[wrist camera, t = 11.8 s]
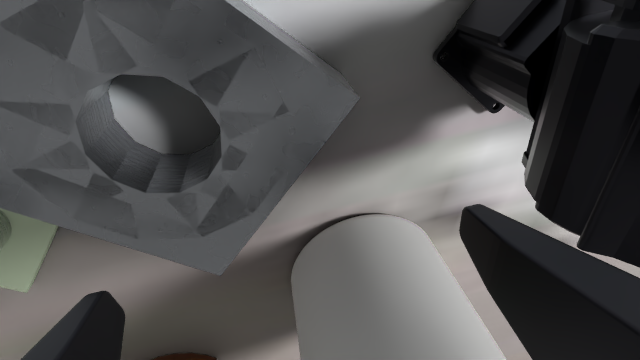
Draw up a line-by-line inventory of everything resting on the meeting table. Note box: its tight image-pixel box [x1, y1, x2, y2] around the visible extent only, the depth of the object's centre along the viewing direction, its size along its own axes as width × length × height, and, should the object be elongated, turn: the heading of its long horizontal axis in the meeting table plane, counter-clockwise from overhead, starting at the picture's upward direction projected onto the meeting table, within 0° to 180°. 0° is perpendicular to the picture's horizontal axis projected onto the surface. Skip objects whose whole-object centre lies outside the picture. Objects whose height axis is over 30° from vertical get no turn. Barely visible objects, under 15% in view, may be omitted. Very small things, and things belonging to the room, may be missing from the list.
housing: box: [0, 0, 360, 276], centre depth 17 cm, size 14×14×4 cm
